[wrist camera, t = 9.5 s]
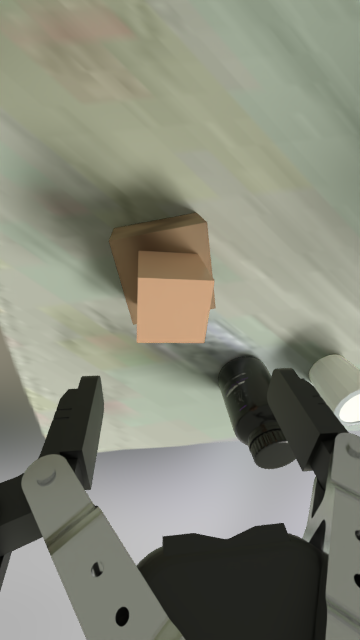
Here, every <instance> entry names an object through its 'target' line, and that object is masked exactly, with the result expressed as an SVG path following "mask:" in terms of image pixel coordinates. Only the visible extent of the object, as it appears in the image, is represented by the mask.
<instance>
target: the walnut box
mask: <svg viewBox="0 0 360 640" xmlns="http://www.w3.org/2000/svg"><path fill="white" fill-rule="evenodd" d="M109 243H110V247H111V250H112V254H113V257H114V261H115V264H116V267H117V271H118V274H119V278H120V281H121V284H122V288H123V291H124V295H125V298H126V302H127V305H128V308H129V312H130V315H131V319H132V322H133V325H134V324H137V298H138V251H155V252H173V253H192V254H198V255H199V256H200V258H201V259H202V261H203V263H204V264H205V266H206V268H207V269H208V271H209V273H210V274H211V276H212V268H211V258H210V248H209V238H208V228H207V222H206V221H205V220H204V219H203V218H202V217H201V216H200V215H199V214H197V213H192V214H187V215H181V216H176V217H171V218H165V219H160V220H155V221H150V222H144V223H139V224H134V225H129V226H123V227H118V228H114V229H113V232H112V234H111V237H110V239H109ZM214 308H215V298H214V288H213V293H212V299H211V305H210V309H214Z"/></svg>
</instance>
